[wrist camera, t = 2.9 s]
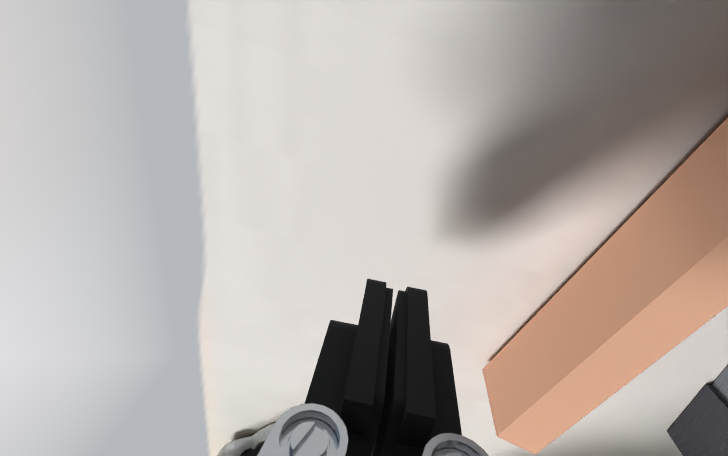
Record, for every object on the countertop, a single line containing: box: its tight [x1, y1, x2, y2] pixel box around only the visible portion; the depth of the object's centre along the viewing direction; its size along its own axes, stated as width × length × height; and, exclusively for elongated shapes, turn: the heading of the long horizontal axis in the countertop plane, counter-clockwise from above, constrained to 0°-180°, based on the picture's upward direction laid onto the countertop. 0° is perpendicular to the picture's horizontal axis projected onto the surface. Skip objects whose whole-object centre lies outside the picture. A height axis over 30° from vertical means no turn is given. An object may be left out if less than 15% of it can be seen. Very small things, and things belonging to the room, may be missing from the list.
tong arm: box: [483, 118, 728, 454], centre depth 10 cm, size 18×2×3 cm, turn 153°
